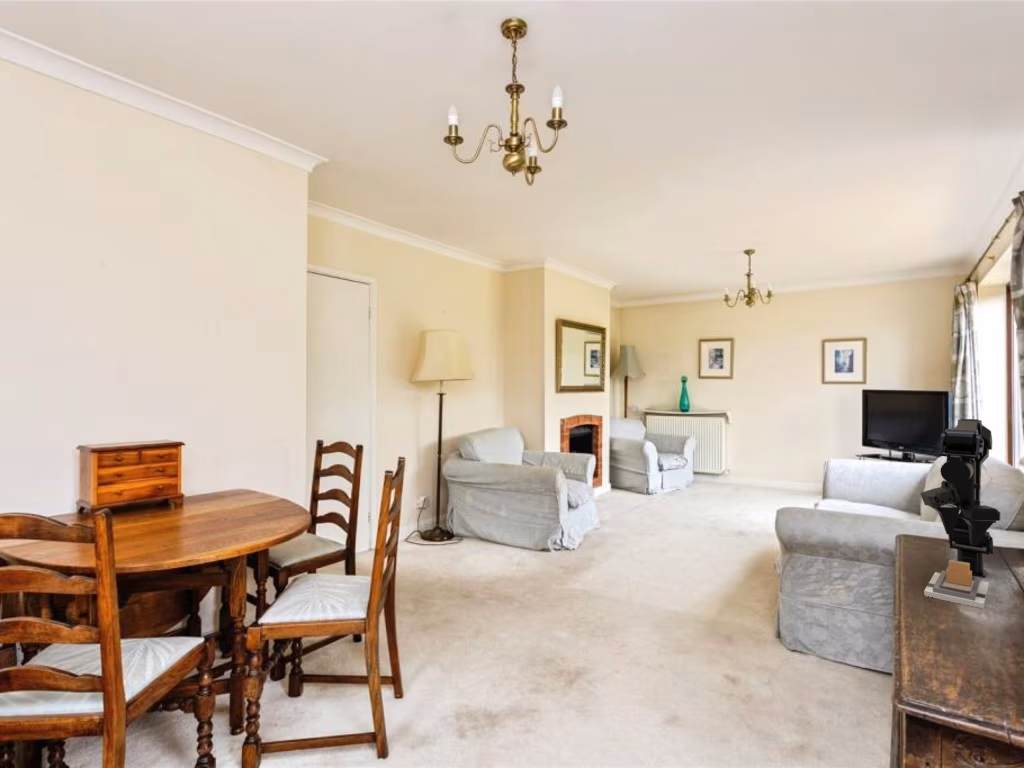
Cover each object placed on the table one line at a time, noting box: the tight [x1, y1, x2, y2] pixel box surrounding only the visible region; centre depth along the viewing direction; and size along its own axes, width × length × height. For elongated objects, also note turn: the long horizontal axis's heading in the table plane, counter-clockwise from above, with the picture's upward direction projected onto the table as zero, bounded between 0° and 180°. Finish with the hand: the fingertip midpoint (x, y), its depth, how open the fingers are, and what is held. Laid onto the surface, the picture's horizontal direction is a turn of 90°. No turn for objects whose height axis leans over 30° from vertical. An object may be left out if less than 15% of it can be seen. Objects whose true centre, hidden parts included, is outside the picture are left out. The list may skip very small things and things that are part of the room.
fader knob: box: [945, 559, 973, 586], centre depth 139 cm, size 4×5×5 cm
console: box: [923, 570, 990, 609], centre depth 136 cm, size 20×11×2 cm, turn 136°
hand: (961, 539), depth 138 cm, fingers open, 9 cm apart
